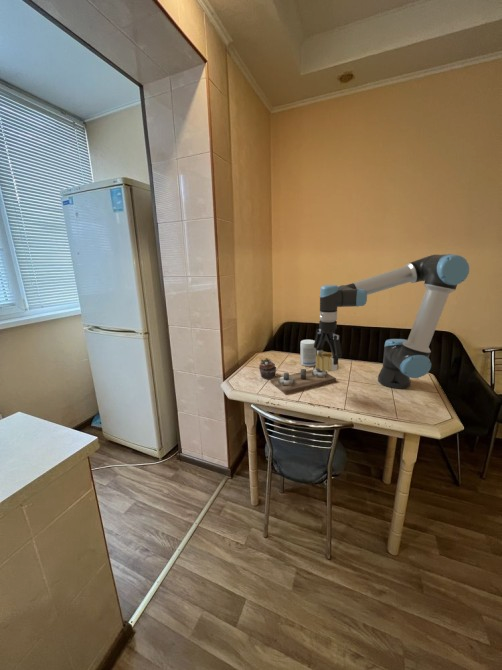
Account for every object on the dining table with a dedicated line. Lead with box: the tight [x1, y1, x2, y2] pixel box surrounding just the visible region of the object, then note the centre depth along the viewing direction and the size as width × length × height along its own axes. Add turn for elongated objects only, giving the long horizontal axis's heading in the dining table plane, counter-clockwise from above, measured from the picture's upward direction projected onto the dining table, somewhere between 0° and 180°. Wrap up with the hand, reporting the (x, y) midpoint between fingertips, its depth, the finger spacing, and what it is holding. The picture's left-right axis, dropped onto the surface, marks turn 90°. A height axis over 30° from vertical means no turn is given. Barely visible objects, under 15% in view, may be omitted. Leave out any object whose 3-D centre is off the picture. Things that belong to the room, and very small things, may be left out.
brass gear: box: [315, 351, 339, 373], centre depth 130 cm, size 10×10×6 cm
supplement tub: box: [299, 339, 317, 367], centre depth 172 cm, size 10×10×15 cm
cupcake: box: [258, 358, 277, 380], centre depth 158 cm, size 10×10×10 cm
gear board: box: [270, 367, 337, 395], centre depth 149 cm, size 15×31×7 cm, turn 114°
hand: (326, 366), depth 131 cm, fingers closed on brass gear, 10 cm apart
